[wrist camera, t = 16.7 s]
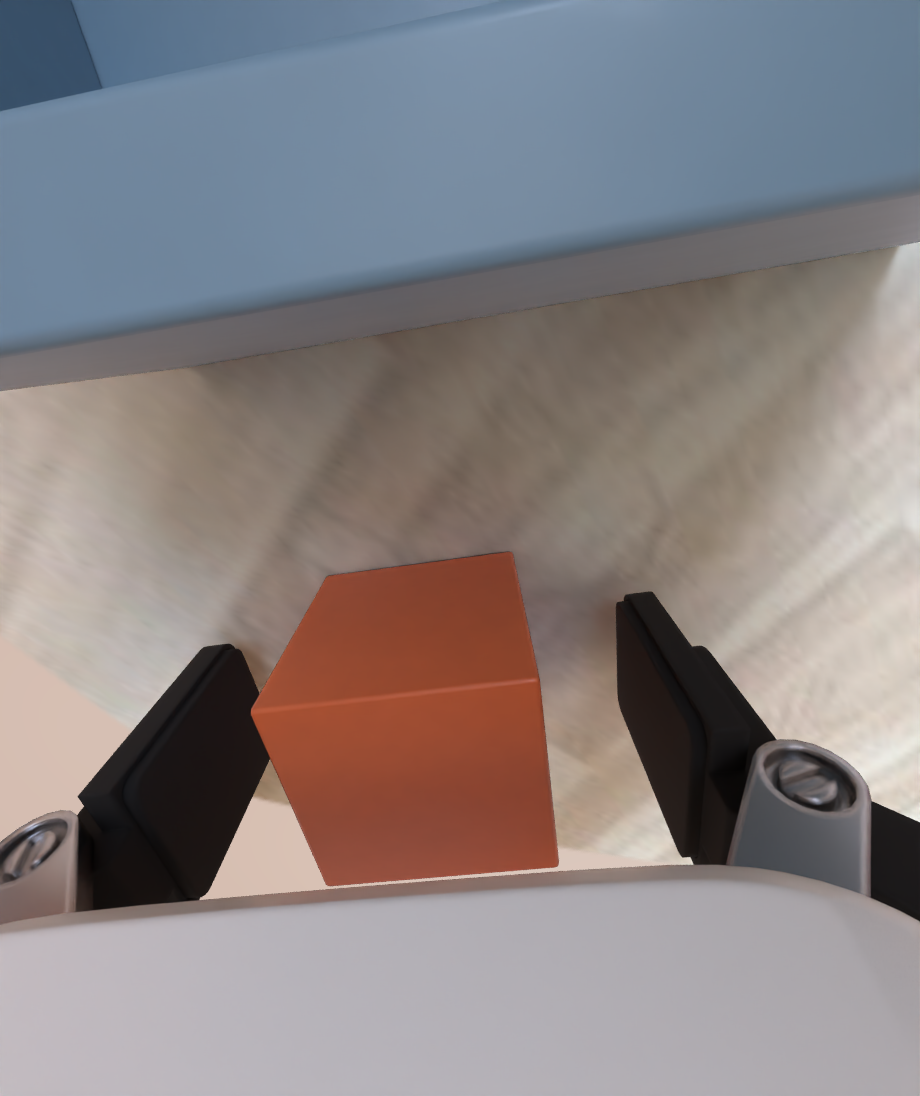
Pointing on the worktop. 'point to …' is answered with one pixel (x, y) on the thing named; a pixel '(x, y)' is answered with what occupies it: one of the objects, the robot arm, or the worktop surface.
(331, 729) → the orange cube
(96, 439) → the worktop surface
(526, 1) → the blue hinged box
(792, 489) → the worktop surface
